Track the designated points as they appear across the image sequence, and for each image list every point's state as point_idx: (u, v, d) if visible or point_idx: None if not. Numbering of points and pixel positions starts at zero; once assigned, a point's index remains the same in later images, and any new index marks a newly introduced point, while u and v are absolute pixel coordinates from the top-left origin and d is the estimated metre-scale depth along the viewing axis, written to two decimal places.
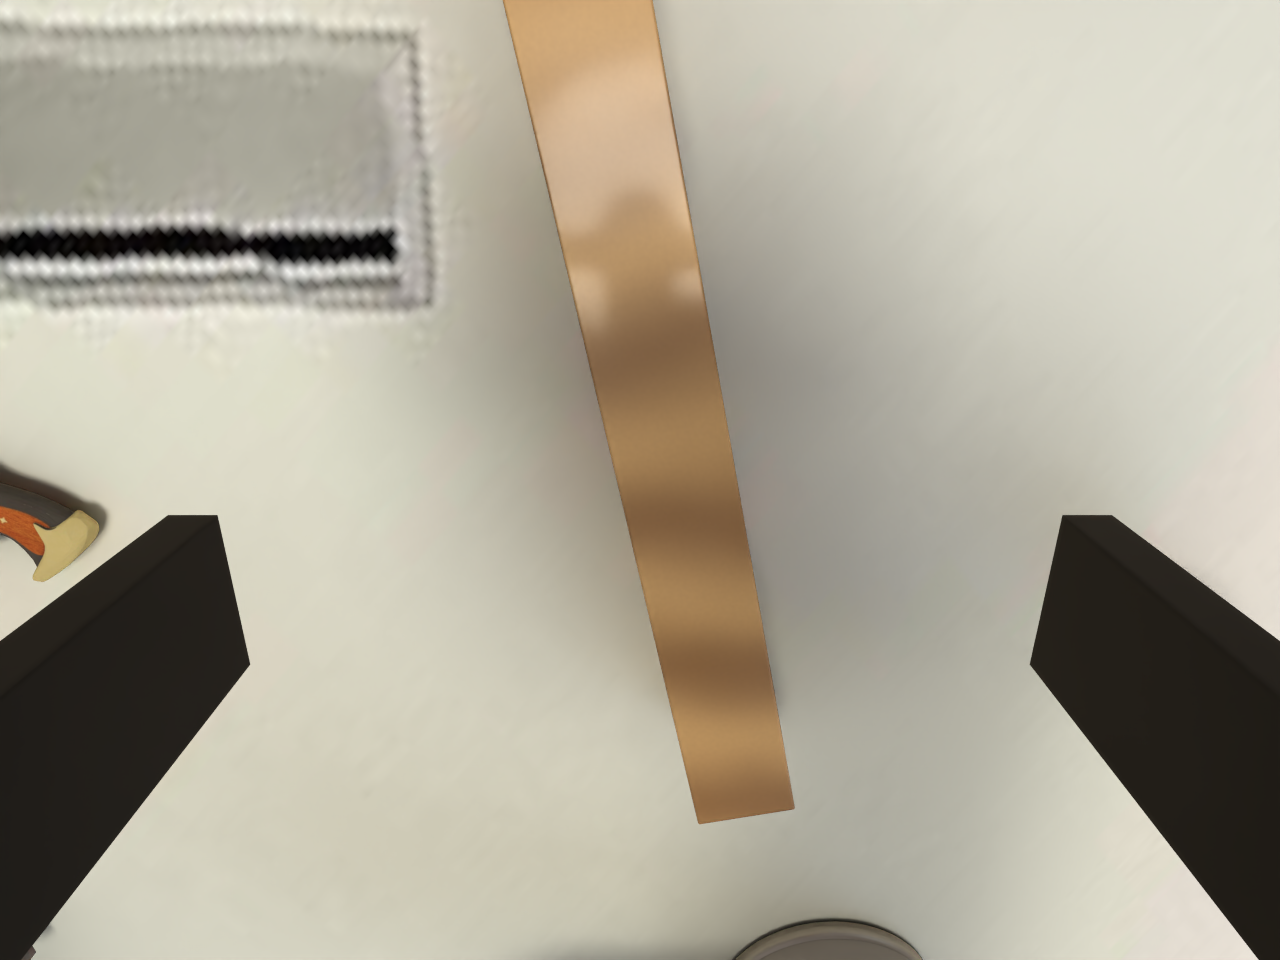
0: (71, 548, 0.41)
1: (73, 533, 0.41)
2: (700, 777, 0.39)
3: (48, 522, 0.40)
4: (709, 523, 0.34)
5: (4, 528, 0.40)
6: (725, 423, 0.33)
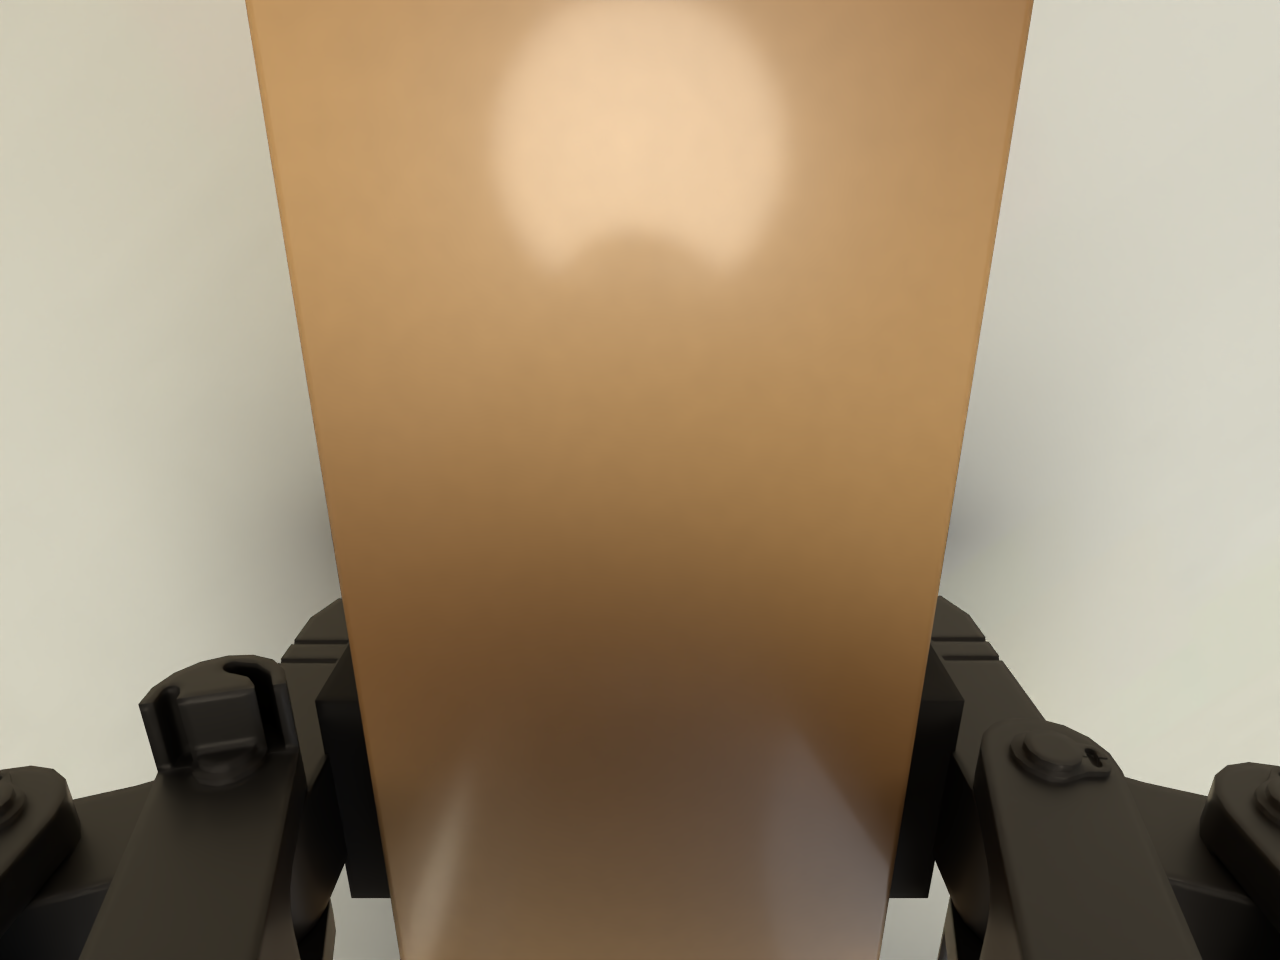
0: None
1: None
2: None
3: None
4: None
5: None
6: None
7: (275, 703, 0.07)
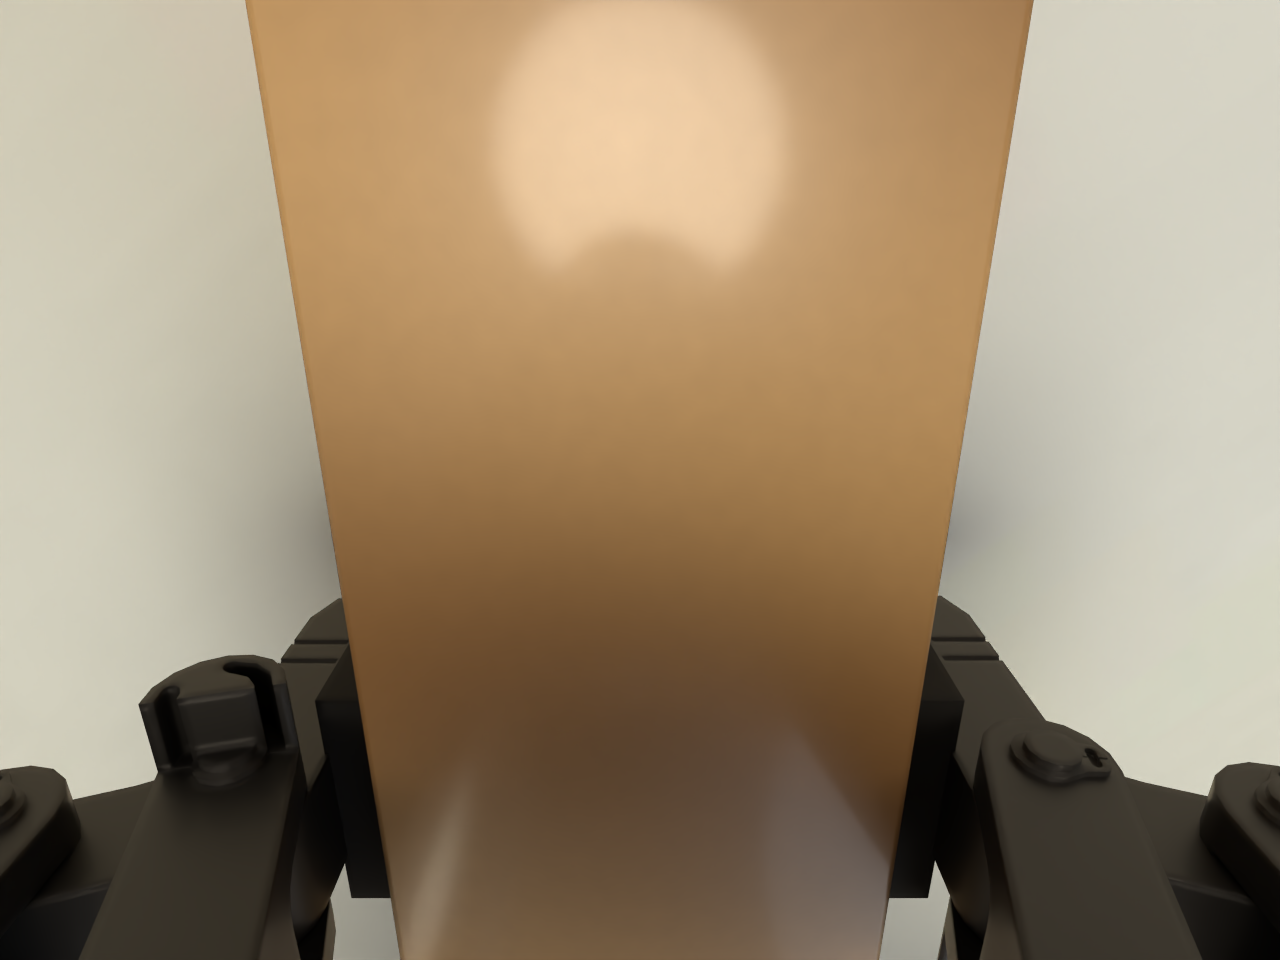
0: None
1: None
2: None
3: None
4: None
5: None
6: None
7: (275, 703, 0.07)
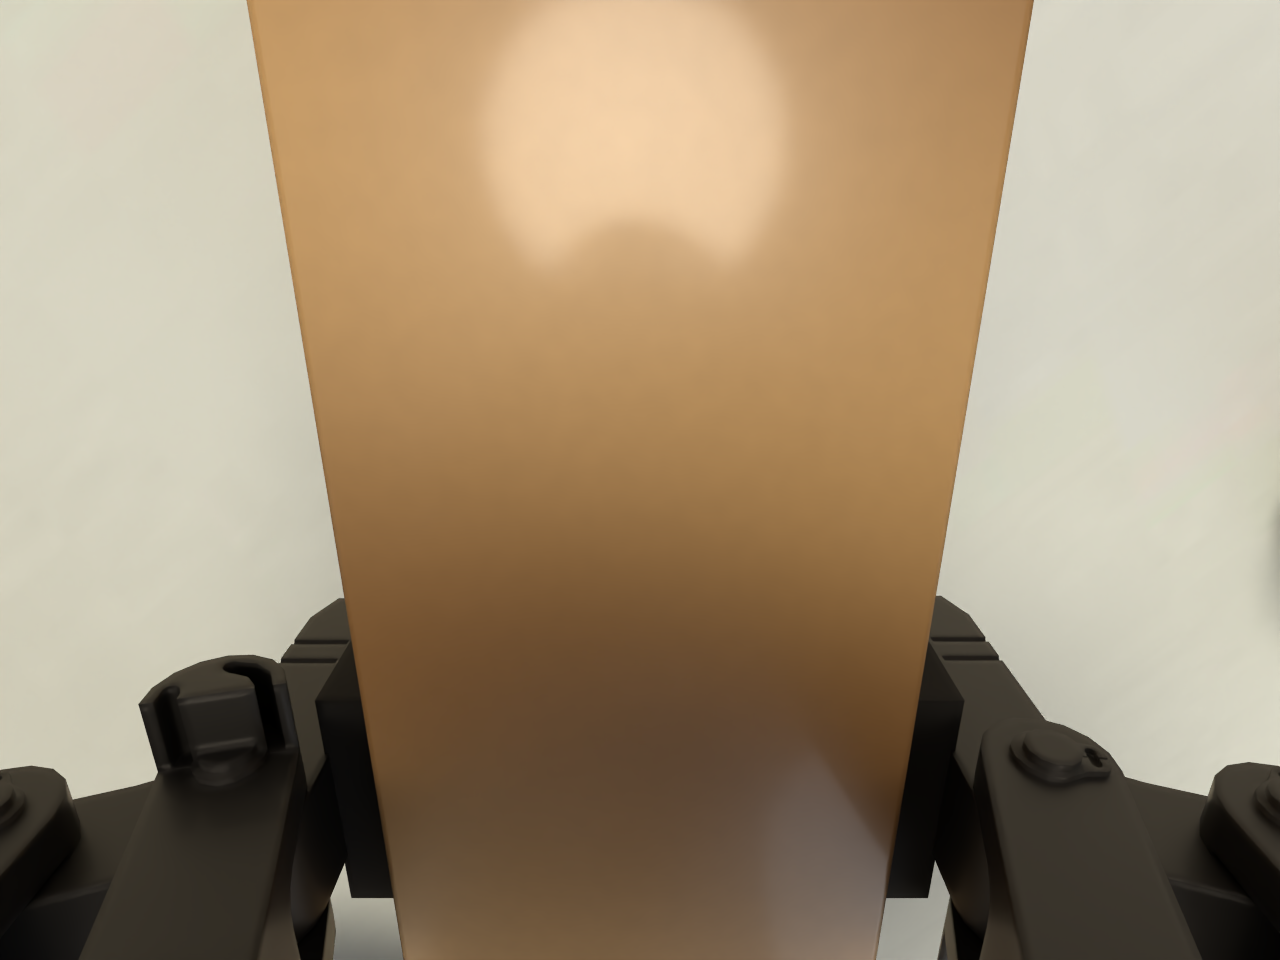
0: None
1: None
2: None
3: None
4: None
5: None
6: None
7: (275, 703, 0.07)
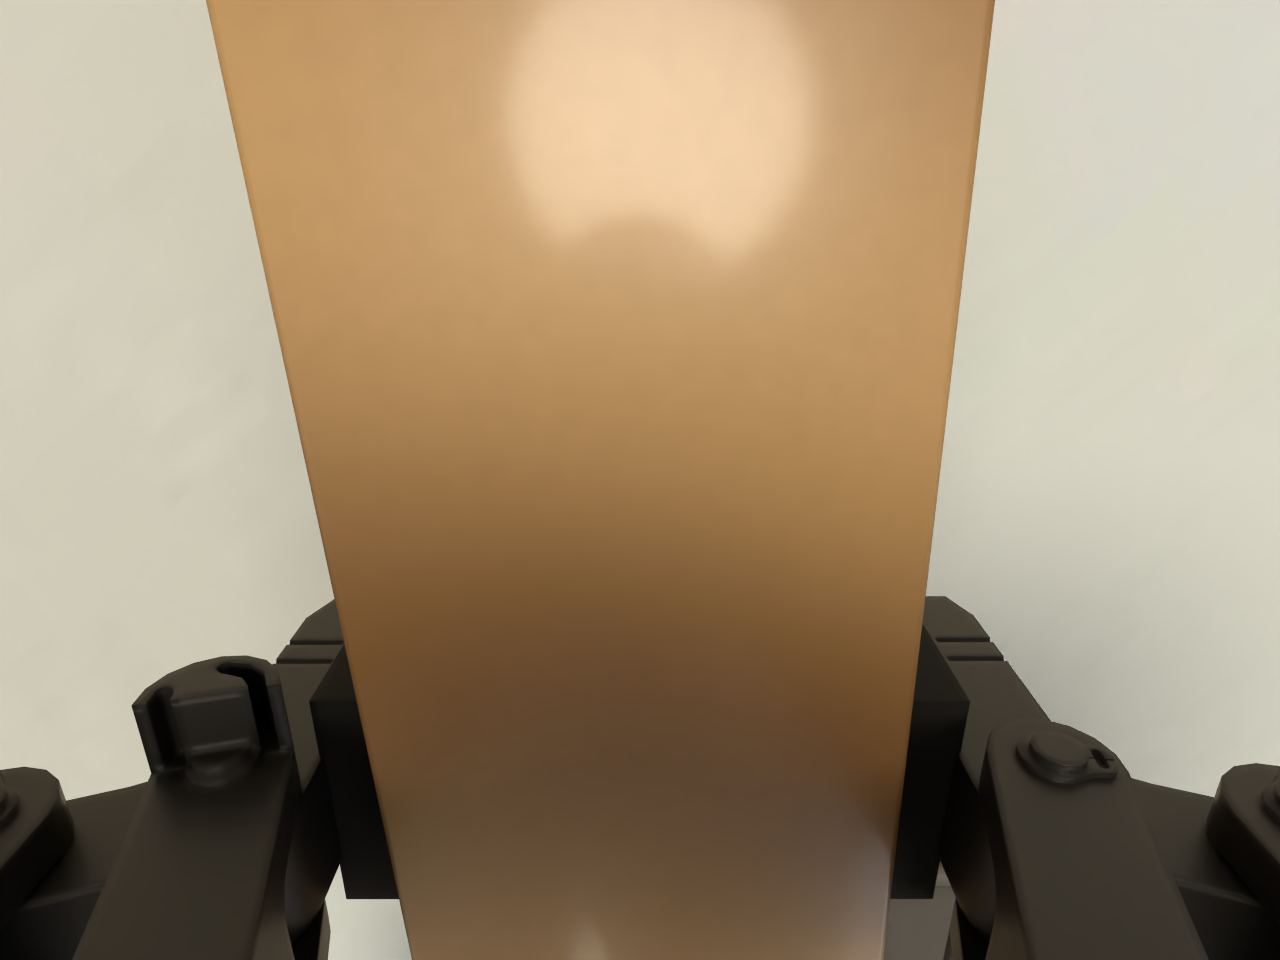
0: None
1: None
2: None
3: None
4: None
5: None
6: None
7: (269, 704, 0.07)
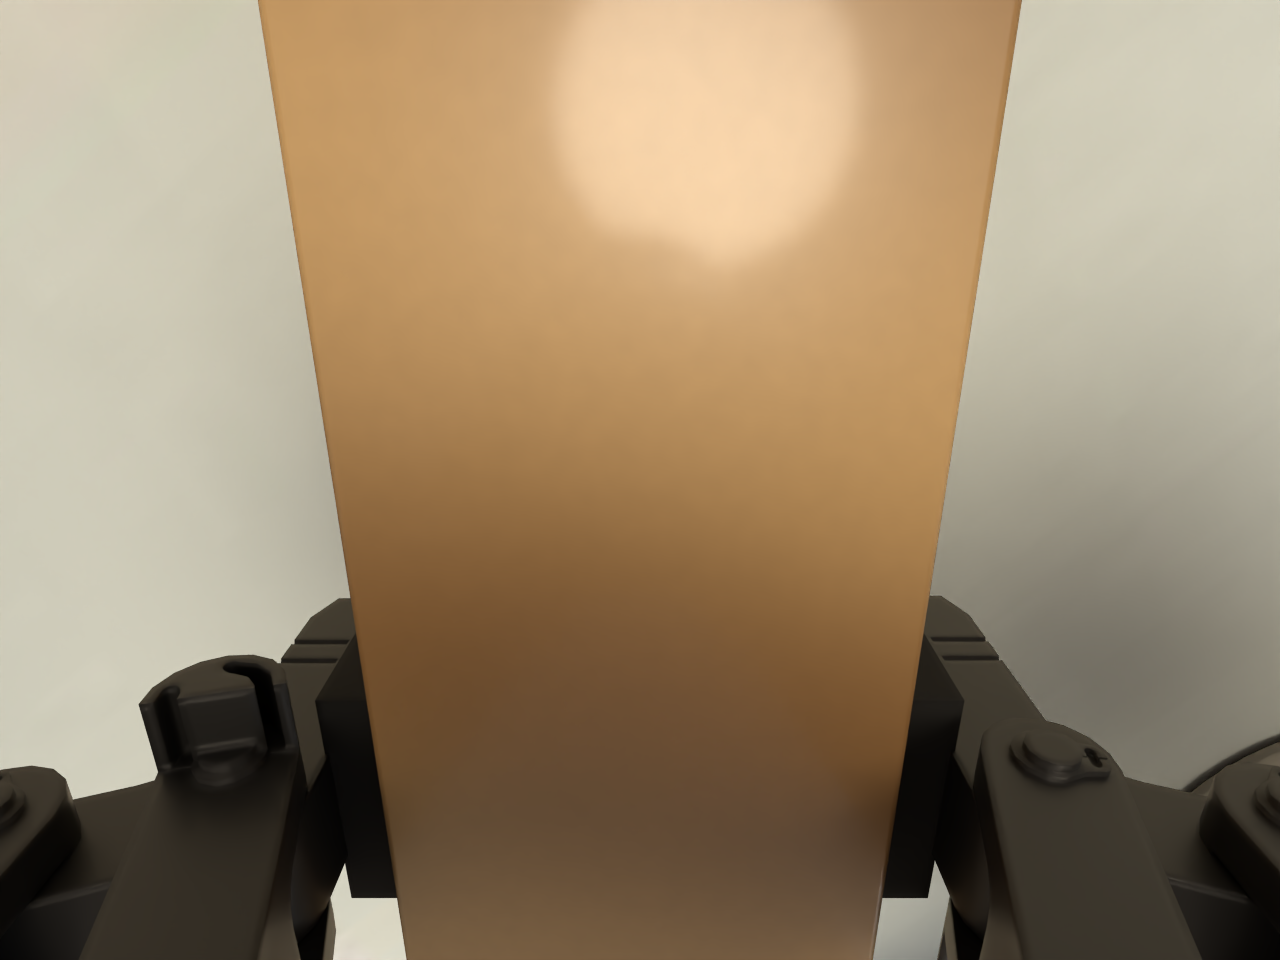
0: None
1: None
2: None
3: None
4: None
5: None
6: None
7: (275, 703, 0.07)
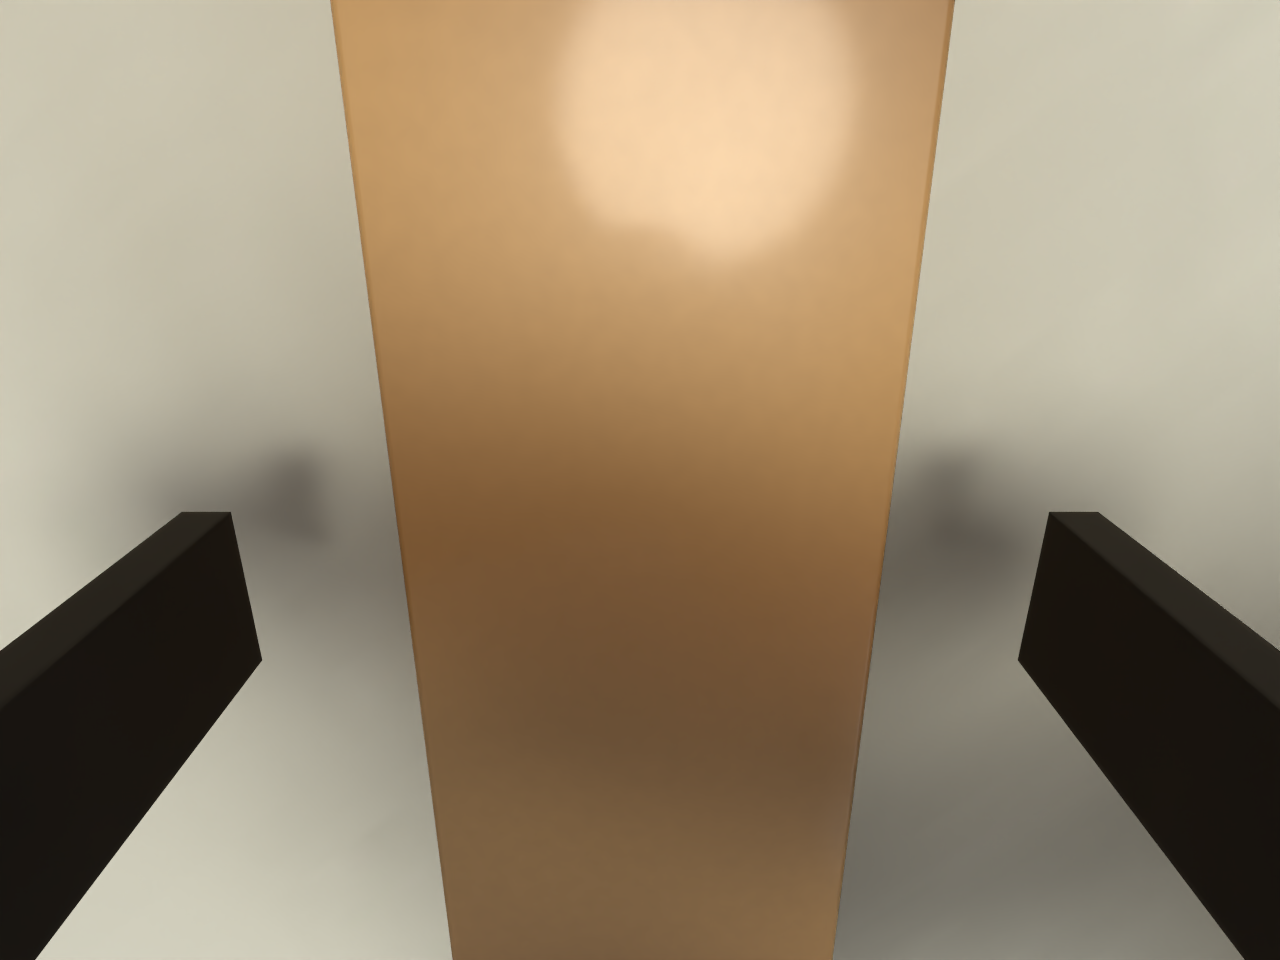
0: None
1: None
2: None
3: None
4: None
5: None
6: None
7: None
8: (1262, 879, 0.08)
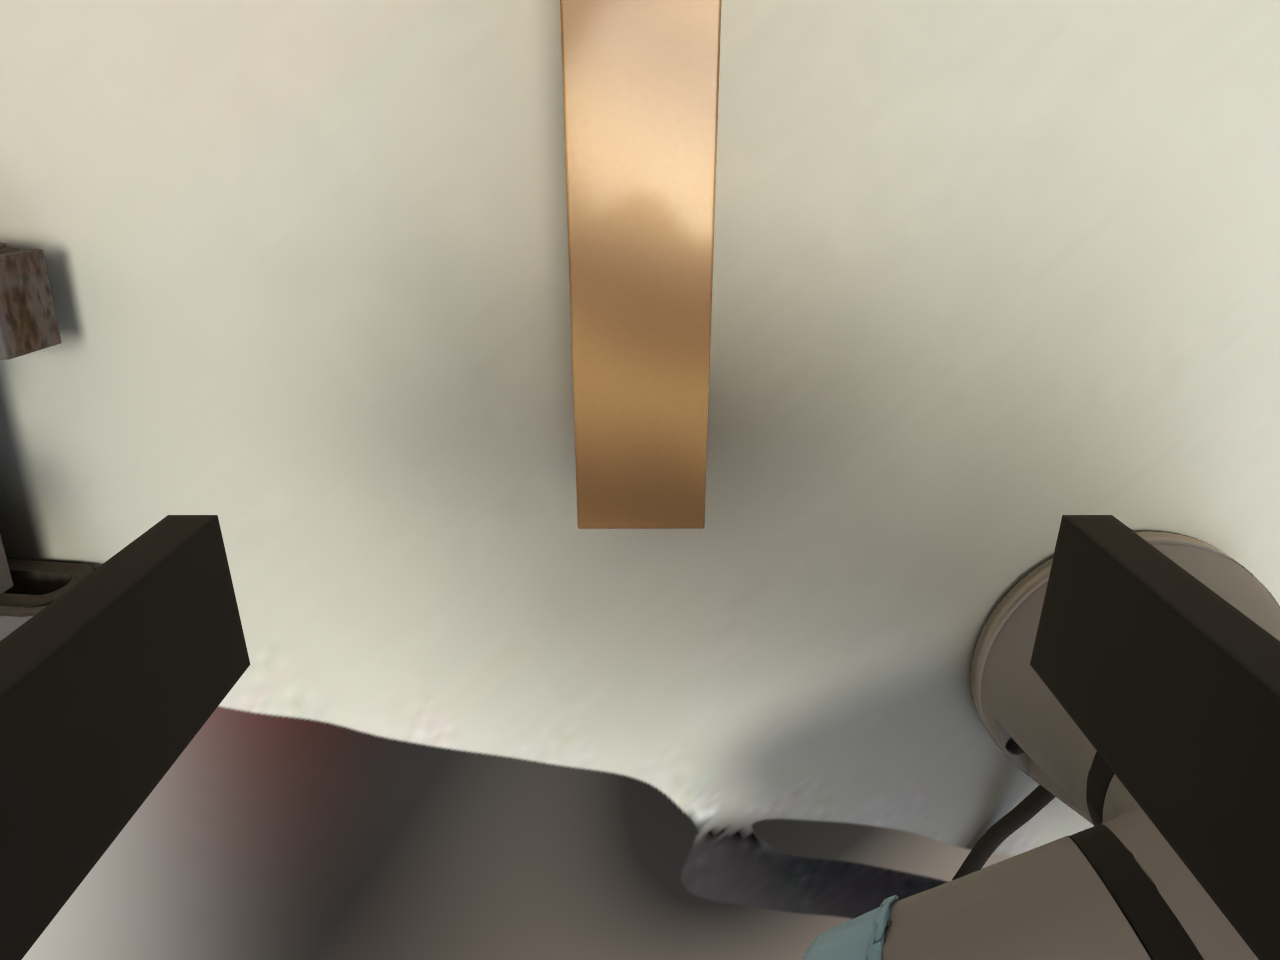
0: None
1: None
2: (592, 456, 0.30)
3: None
4: (672, 49, 0.25)
5: None
6: None
7: None
8: None
